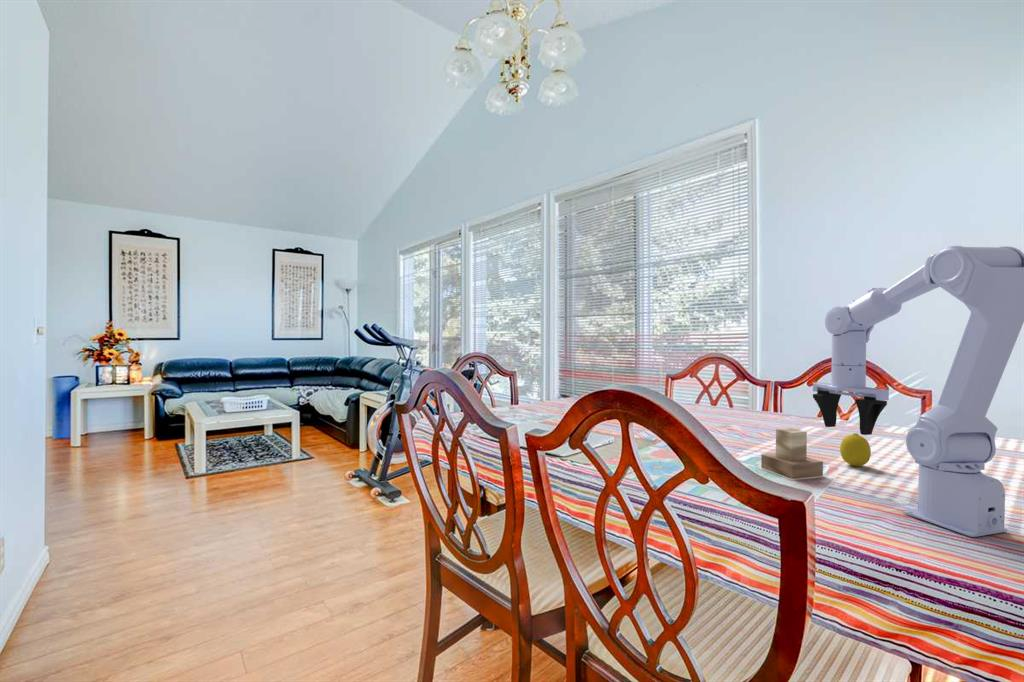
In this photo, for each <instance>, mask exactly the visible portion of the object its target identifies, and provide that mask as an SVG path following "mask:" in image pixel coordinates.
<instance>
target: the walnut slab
mask: <svg viewBox="0 0 1024 682" xmlns="http://www.w3.org/2000/svg"><path fill="white" fill-rule="evenodd" d="M760 460H761V461H760V463H761V464H760V465H761V466H760V467H761V468H764V469H766V470H769V471H772V472H774V473H777V474H780V475H783V476H785V477H788V478H791V479H797V478H807V477H816V476H823V475H824V473H823V472H824V461H822V460H819V459H816V458H813V457H809V456H807V457H806V460H798V461H790V460H786V459H783V458H780V457H777V456H776V452H773V453H761V459H760ZM761 468H760V469H761ZM766 470H765V471H766ZM769 471H768V472H769ZM774 473H773V474H774ZM777 474H776V475H777ZM780 475H779V476H780ZM785 477H784V478H785ZM788 478H787V479H788Z"/></svg>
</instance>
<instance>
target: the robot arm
mask: <svg viewBox="0 0 1024 682" xmlns="http://www.w3.org/2000/svg"><path fill="white" fill-rule="evenodd" d="M938 288H942V290H944V291H946V292H947V293H949V294H950V295H951V296H953V297H954V298H956V299H958V301H960V302H962V303H963V304H964V305H965V306H966V308H967V309H968V310H969V311H970V315H969V317H968V320H967V323H966V326H965V328H964V332H963V334H962V336H961V340H960V342H959V345H958V348H957V351H956V353H955V357H954V359H953V361H952V365H951V367H950V370H949V373H948V375H947V378H946V381H945V384H944V386H943V389H942V391H941V393H940V397H939V400H938V402H937V404H936V405H934V407H932V408H931V409H928V410H926V411H925V412H924V413H922V414H920V415H919V417H918V419H917V422H916V423H915V425H914V426H912V427H911V428H910V429H909V430H908V432H907V433H906V436H905V446H906V449H907V451H908V453H909V454H910V456H911V457H912V458H913V459H914V463H915V464H918V485H917V486H918V487H917V488H918V491H917V492H918V494H917V495H918V496H917V497H918V498H917V500H918V501H917V508H913V509H905V510H904V511H903V512H904V514H905V515H908V516H911V517H914V518H916V519H920V520H922V521H925V522H928V523H931V524H934V525H935V526H939V527H942V528H945V529H948V530H951V531H953V532H956V533H959V534H961V535H965V536H967V537H972V538H977V537H982V536H989V535H990V536H991V535H995V534H1001V533H1006V532H1008V530H1009V529H1008V528H1007V527H1005V519H1006V518H1005V514H1006V513H1005V512H1006V511H1005V510H1006V507H1005V505H1006V492H1005V488H1004V484H1003V483H1002V482H1001V481H1000V480H999V479H998V478H995V477H994V476H993V477H992V476H989V475H987V474H985V473H983V472H982V471H983V470H985V469H986V468H985V464H987V463H989V462H991V461H992V459H994V457H995V455H996V451H997V450H996V449H997V447H996V442H995V440H996V435H997V431H998V427H997V426H996V424H994V423H993V422H992V421H991V420H990V419H989V418H987V417H986V415H987V413H988V411H989V409H990V406H991V405H992V404H991V403H992V401H993V399H994V396H995V393H996V392H997V388H998V387H999V384H1000V381H1001V379H1002V376H1003V374H1004V371H1005V369H1006V367H1007V365H1008V362H1009V360H1010V357H1011V355H1012V352H1013V350H1014V347H1015V345H1016V342H1017V340H1018V337H1019V335H1020V333H1021V330H1022V328H1023V326H1024V252H1023V251H1022V250H1021V249H1018V248H1016V247H1012V246H998V247H995V246H994V247H992V246H991V247H990V246H987V247H986V246H961V245H950V246H946V247H944V248H942V249H940V250H939V251H938V252H937V253H934V254H932V255H930V256H928V257H927V258H926V260H925V263H924V264H923V265H922V266H920V267H919V268H917V269H916V270H914V271H912V272H911V273H910V274H908V275H907V276H905V277H903V278H902V279H901V280H899V281H897V282H896V283H895V284H893V285H892V286H890V287H888V288H887V287H871V288H869V289H867V293H866V294H864V295H863V296H861V297H859V298H858V299H855V300H852V301H850V302H849V304H847V305H846V306H833V307H832V308H831V309H830V310H829V311H828V312H827V313H826V315H825V318H824V326H825V328H826V330H827V332H829V333H830V334H831V370H830V371H831V373H830V376H831V380H830V381H831V382H828V383H827V382H820V381H819V382H812V392H816V393H813V394H812V398H813V399H814V401H815V402H816V404H817V406H818V408H819V410H820V413H821V416H822V419H823V423H824V426H825V427H826V428H835V427H836V426H837V425H836V424H837V416H838V415H837V412H838V406H839V404H840V403H839V402H840V399H841V397H842V396H850V397H856V398H857V399H855V400H854V401H855V404H856V407H857V410H858V415H859V416H858V417H859V432H860V435H861V436H869V435H871V436H872V433H873V432H874V428H875V425H876V422H877V420H878V418H879V416H880V415H881V412H882V411H883V410H884V409H885V408H886V406H888V401H889V399H890V398H889V397H890V391H889V389H888V390H887V389H879V388H875V387H871V386H870V387H868V386H866V383H867V381H866V380H867V377H866V376H867V343H868V342H869V341H870V335H871V332H872V331H873V329H874V327H875V325H877V324H878V323H881V322H883V321H885V320H887V319H888V318H891V317H892V316H895V315H897V314H898V313H899V312H900V311H901V309H902V305H903V304H904V303H906V302H909V301H911V300H913V299H915V298H917V297H920V296H922V295H924V294H927V293H929V292H931V291H933V290H935V289H938Z"/></svg>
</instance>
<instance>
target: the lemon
mask: <svg viewBox="0 0 1024 682" xmlns="http://www.w3.org/2000/svg"><path fill="white" fill-rule="evenodd" d="M839 447H840V448H839V450H840V451H839V452H840V456H841V458H842V460H843V461H844V462H845V463H847V464H849V465H850V466H852V467H856V468H857V467H862V466H864V465H866V464H868V462H869V461H870V459H871V456H872V455H871V453H872V451H871V445H870V443H869V442H868V440H867V439H866V438H865V437H863V435H861V434H858V433H857V432H853V433H851V434H848V435H847V436H844V438H842V440H841V443H840V446H839Z"/></svg>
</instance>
